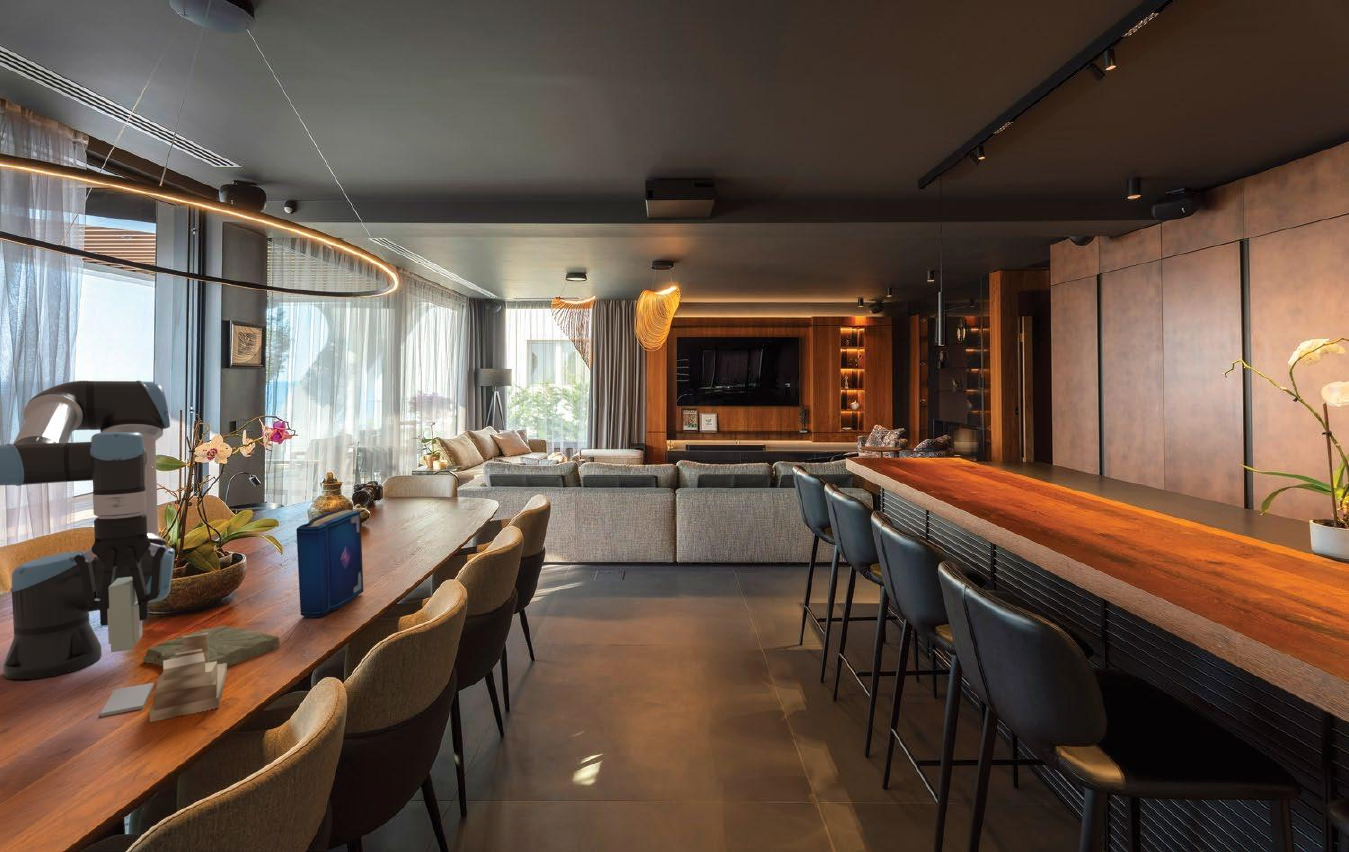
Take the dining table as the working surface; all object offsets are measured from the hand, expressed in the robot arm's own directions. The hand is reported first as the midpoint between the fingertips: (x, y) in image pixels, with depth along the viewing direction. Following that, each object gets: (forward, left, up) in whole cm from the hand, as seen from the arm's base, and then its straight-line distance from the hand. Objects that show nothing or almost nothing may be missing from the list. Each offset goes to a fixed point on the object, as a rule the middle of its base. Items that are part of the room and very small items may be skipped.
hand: (125, 639), depth 122 cm
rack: (+10, -3, -12) cm, 16 cm away
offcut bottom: (+10, -9, -10) cm, 17 cm away
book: (+36, +42, -12) cm, 57 cm away
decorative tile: (+11, +19, -13) cm, 25 cm away
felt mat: (0, 0, -12) cm, 12 cm away
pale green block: (0, 0, -1) cm, 1 cm away
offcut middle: (+10, -9, -7) cm, 16 cm away
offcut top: (+10, -9, -5) cm, 14 cm away
